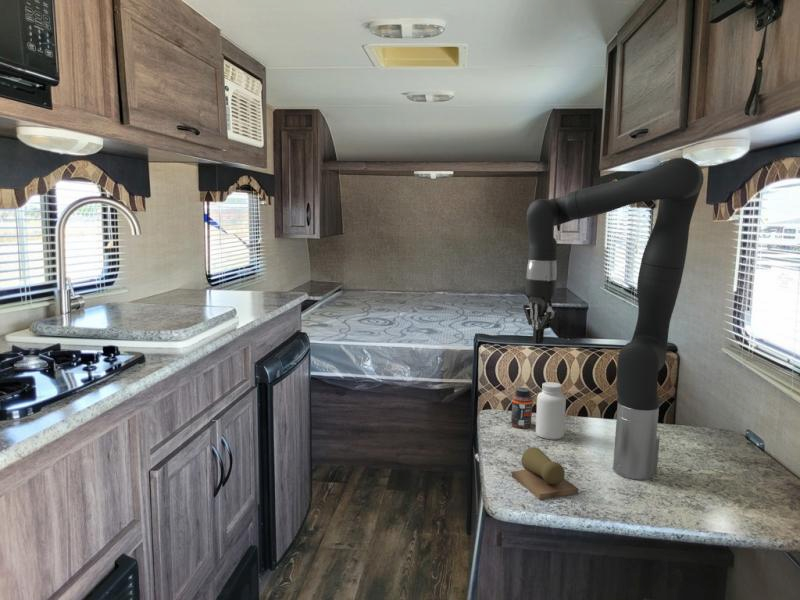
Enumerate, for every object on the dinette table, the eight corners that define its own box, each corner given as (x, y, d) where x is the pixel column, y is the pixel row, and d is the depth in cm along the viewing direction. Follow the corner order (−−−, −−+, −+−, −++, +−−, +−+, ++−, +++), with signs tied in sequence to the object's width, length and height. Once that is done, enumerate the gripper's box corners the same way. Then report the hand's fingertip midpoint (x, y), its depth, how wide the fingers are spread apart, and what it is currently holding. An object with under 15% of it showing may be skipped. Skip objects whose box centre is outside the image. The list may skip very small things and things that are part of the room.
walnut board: (547, 471, 140) (548, 466, 140) (577, 493, 129) (578, 488, 129) (511, 476, 137) (511, 471, 137) (539, 499, 126) (539, 494, 126)
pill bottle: (531, 430, 167) (533, 380, 165) (557, 429, 168) (560, 380, 166) (540, 440, 159) (543, 388, 157) (568, 440, 160) (571, 388, 158)
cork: (527, 443, 139) (552, 458, 128) (547, 452, 140) (573, 468, 130) (517, 466, 138) (541, 483, 128) (537, 474, 140) (561, 492, 129)
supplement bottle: (525, 430, 167) (527, 393, 165) (507, 426, 170) (509, 389, 169) (534, 425, 172) (536, 388, 170) (516, 420, 175) (518, 385, 174)
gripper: (515, 275, 153) (512, 338, 155) (542, 280, 140) (539, 349, 143) (539, 274, 155) (536, 337, 157) (568, 279, 143) (564, 347, 145)
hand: (537, 343), depth 150 cm, fingers closed
